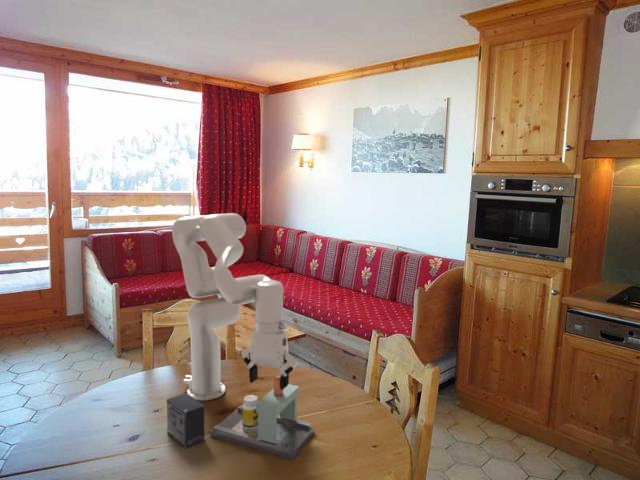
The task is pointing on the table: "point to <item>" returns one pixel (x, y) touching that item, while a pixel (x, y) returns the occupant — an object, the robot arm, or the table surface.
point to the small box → (185, 420)
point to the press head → (276, 409)
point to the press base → (287, 443)
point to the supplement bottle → (249, 412)
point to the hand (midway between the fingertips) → (268, 384)
